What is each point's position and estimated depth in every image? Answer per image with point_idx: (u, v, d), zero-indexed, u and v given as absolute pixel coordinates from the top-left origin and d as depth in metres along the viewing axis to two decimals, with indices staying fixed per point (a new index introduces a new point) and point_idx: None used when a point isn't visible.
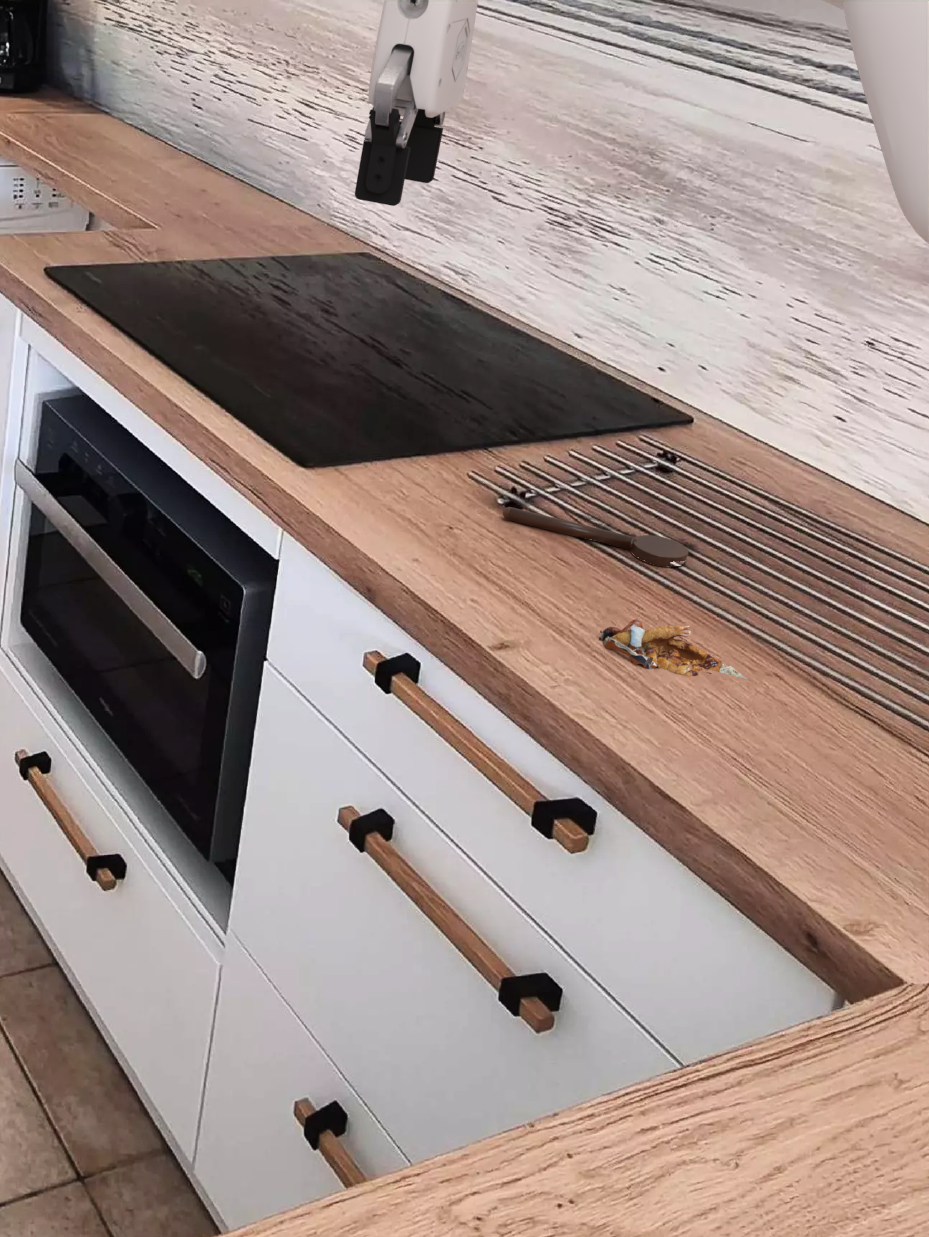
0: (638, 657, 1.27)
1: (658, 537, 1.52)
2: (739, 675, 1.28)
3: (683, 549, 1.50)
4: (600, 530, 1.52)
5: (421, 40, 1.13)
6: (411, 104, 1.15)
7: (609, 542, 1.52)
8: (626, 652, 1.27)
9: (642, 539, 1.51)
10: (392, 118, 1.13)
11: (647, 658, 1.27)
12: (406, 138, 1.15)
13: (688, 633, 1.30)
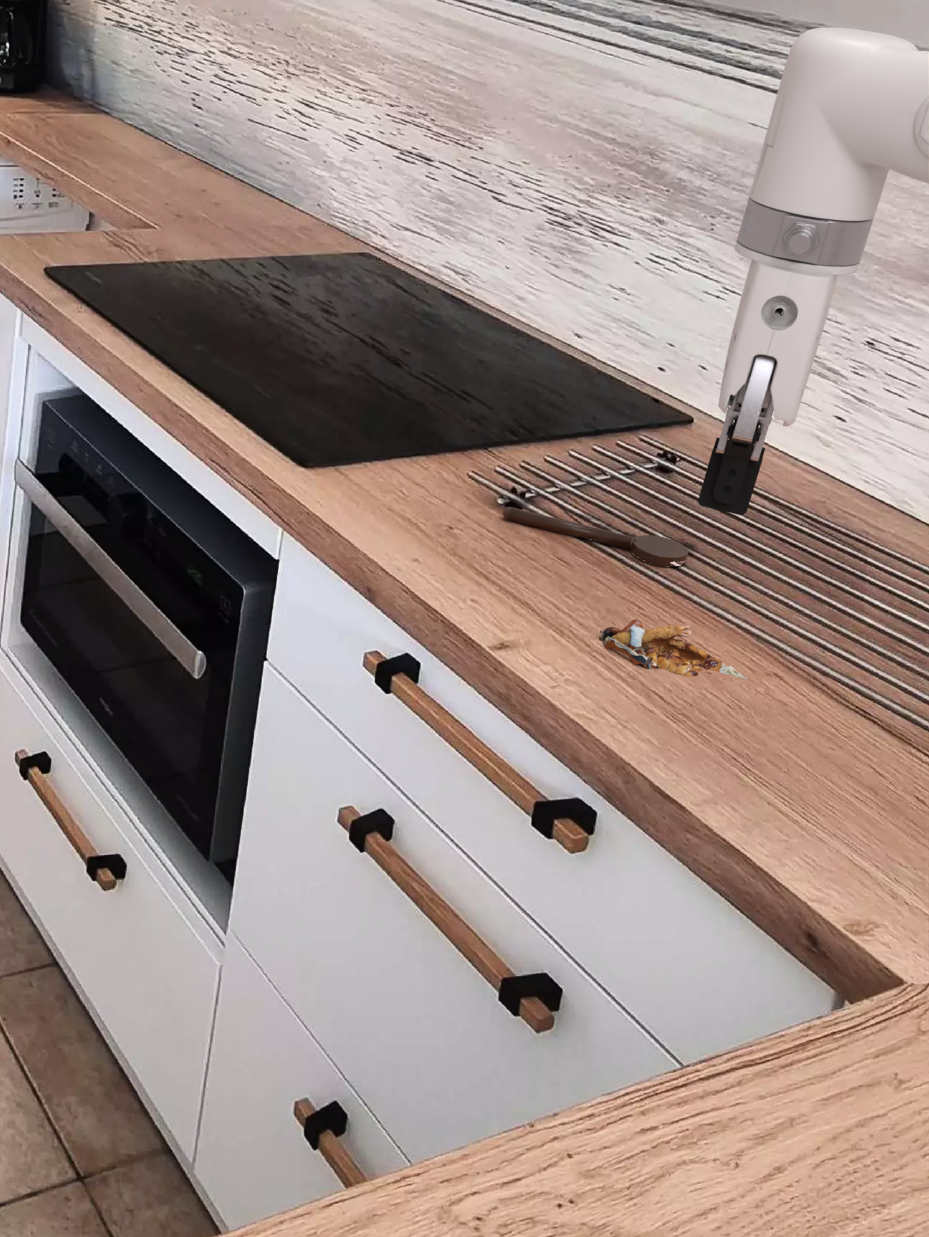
0: (638, 657, 1.27)
1: (658, 537, 1.52)
2: (739, 675, 1.28)
3: (683, 549, 1.50)
4: (600, 530, 1.52)
5: (786, 352, 1.06)
6: (765, 422, 1.10)
7: (609, 542, 1.52)
8: (626, 652, 1.27)
9: (642, 539, 1.51)
10: (752, 443, 1.10)
11: (647, 658, 1.27)
12: None
13: (688, 633, 1.30)
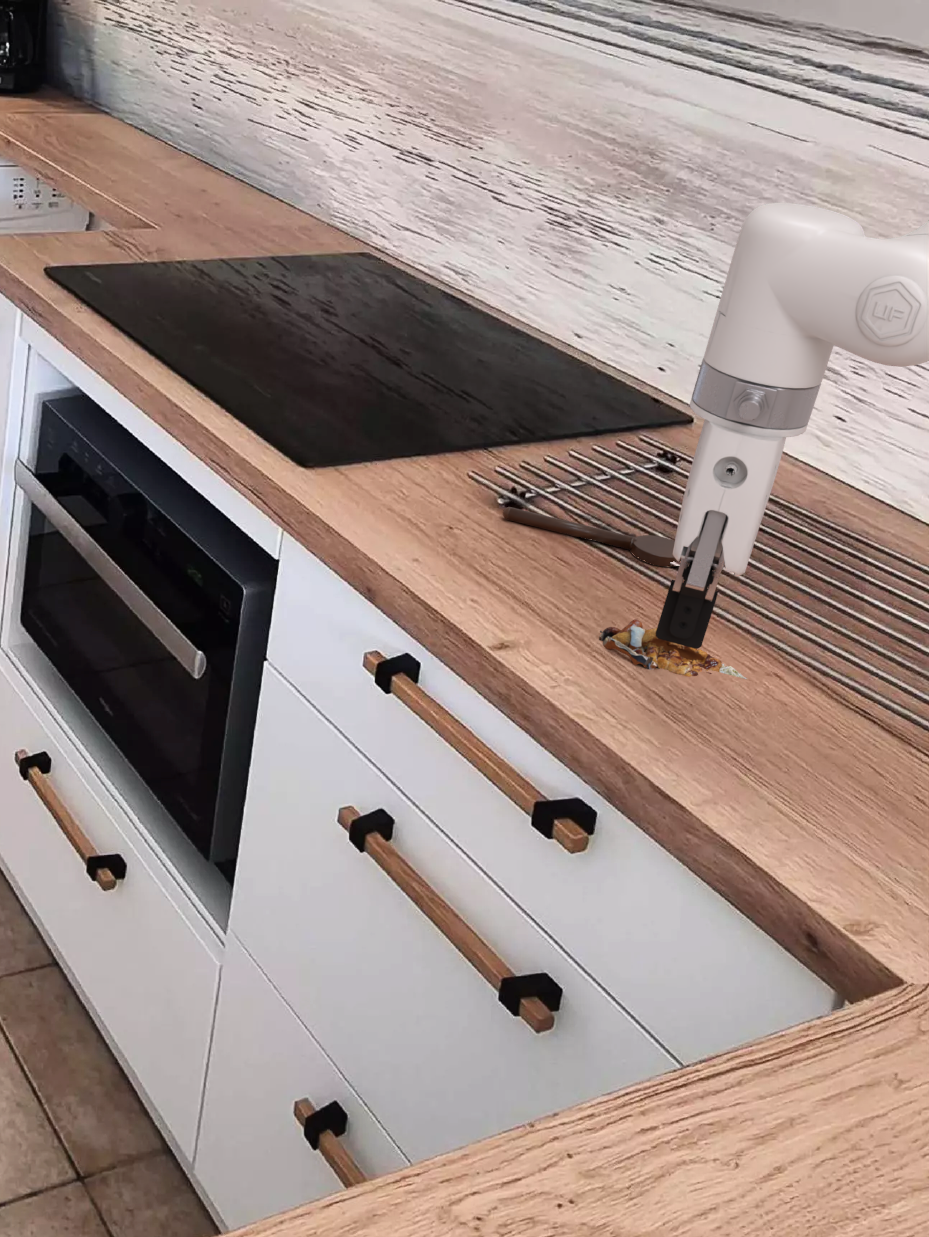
0: (638, 657, 1.27)
1: (658, 537, 1.52)
2: (739, 675, 1.28)
3: None
4: (600, 530, 1.52)
5: (737, 509, 1.11)
6: (718, 568, 1.15)
7: (609, 542, 1.52)
8: (626, 652, 1.27)
9: (642, 539, 1.51)
10: (706, 586, 1.15)
11: (647, 658, 1.27)
12: None
13: None
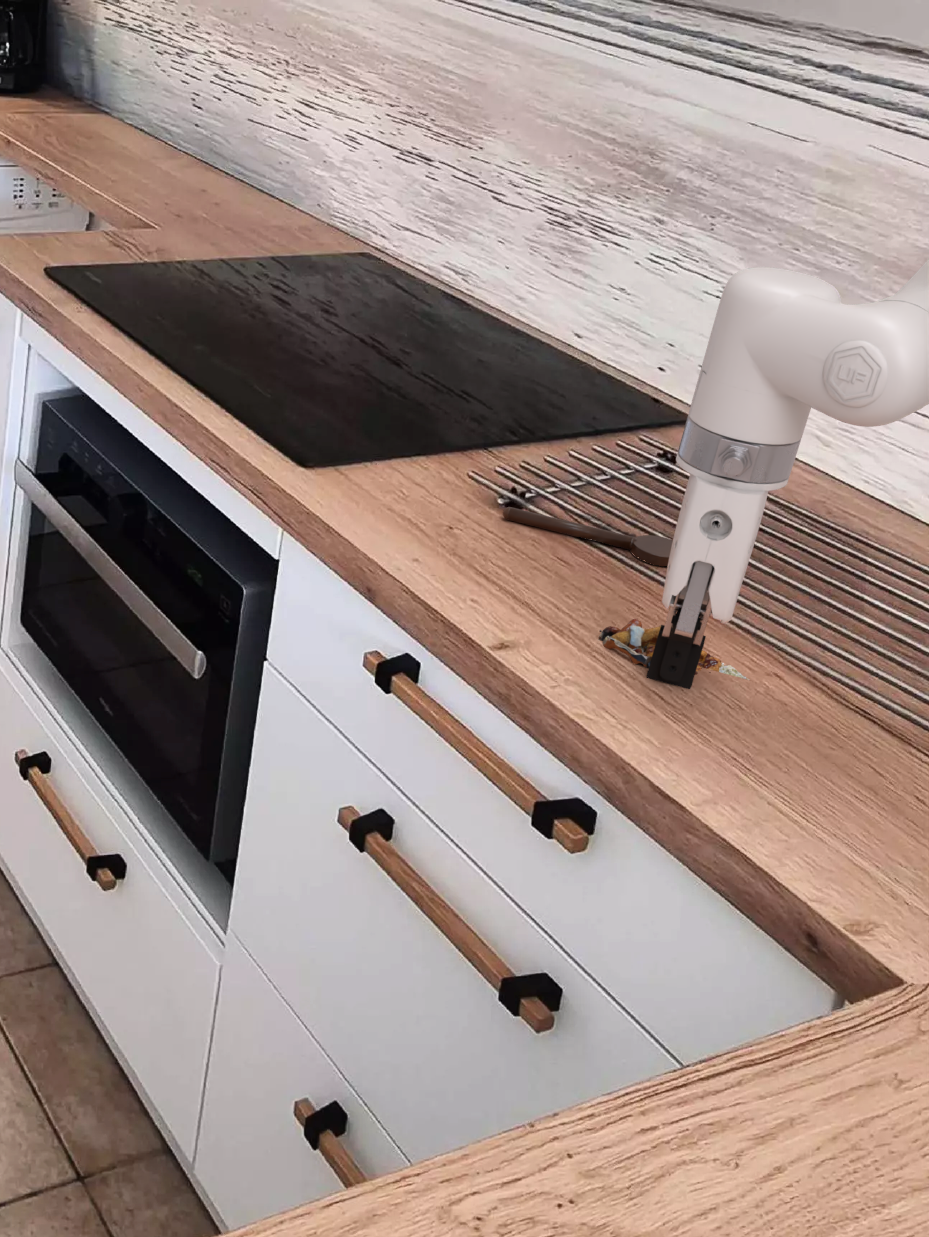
0: (638, 656, 1.27)
1: (658, 537, 1.52)
2: (738, 674, 1.28)
3: None
4: (600, 530, 1.52)
5: (723, 560, 1.15)
6: (705, 615, 1.20)
7: (609, 542, 1.52)
8: (625, 651, 1.28)
9: (642, 539, 1.51)
10: (694, 632, 1.20)
11: (647, 657, 1.27)
12: None
13: None
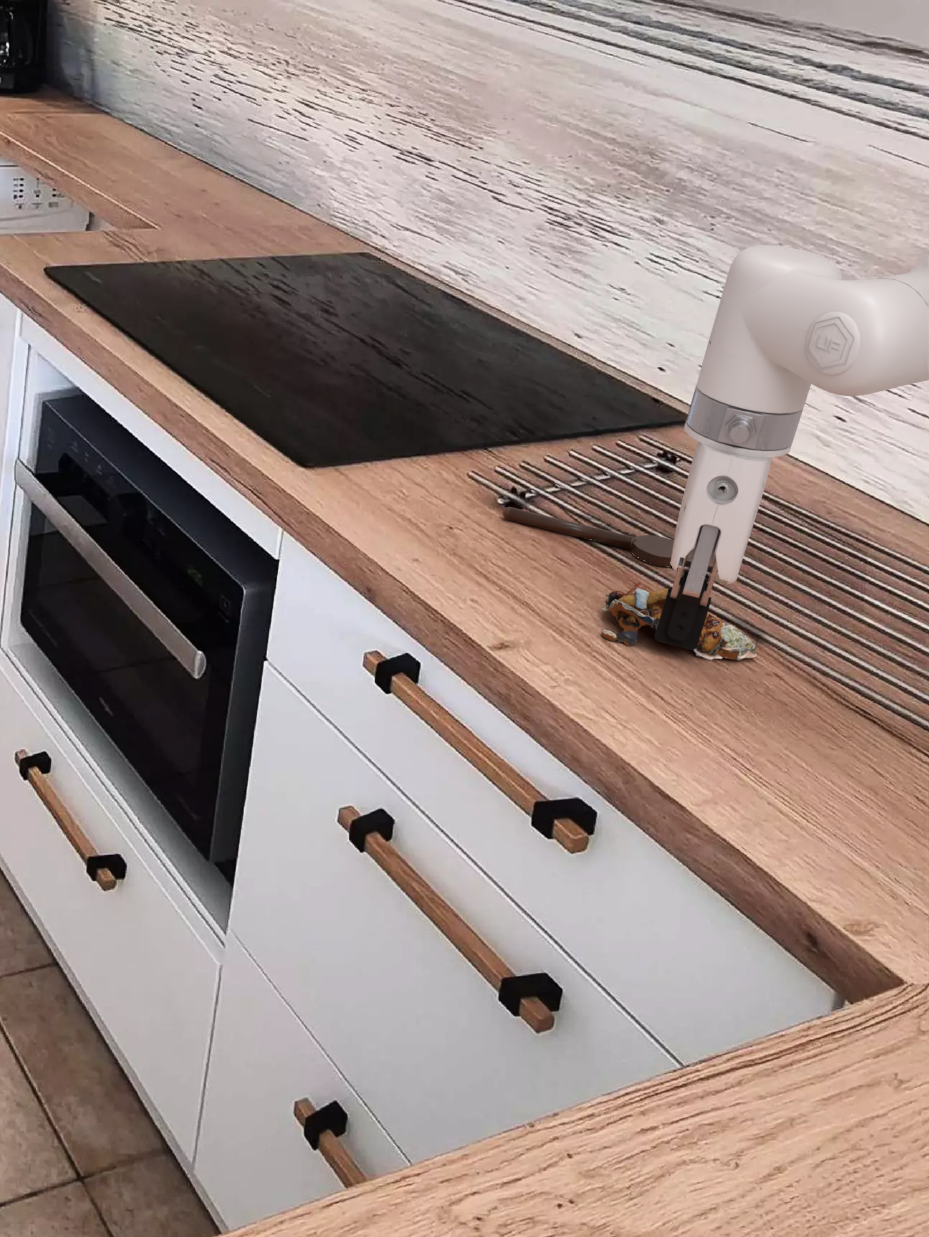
0: (645, 618, 1.33)
1: (658, 537, 1.52)
2: (739, 633, 1.35)
3: None
4: (600, 530, 1.52)
5: (728, 524, 1.22)
6: (711, 576, 1.27)
7: (609, 542, 1.52)
8: (633, 613, 1.34)
9: (642, 539, 1.51)
10: (701, 593, 1.26)
11: (654, 619, 1.33)
12: None
13: None
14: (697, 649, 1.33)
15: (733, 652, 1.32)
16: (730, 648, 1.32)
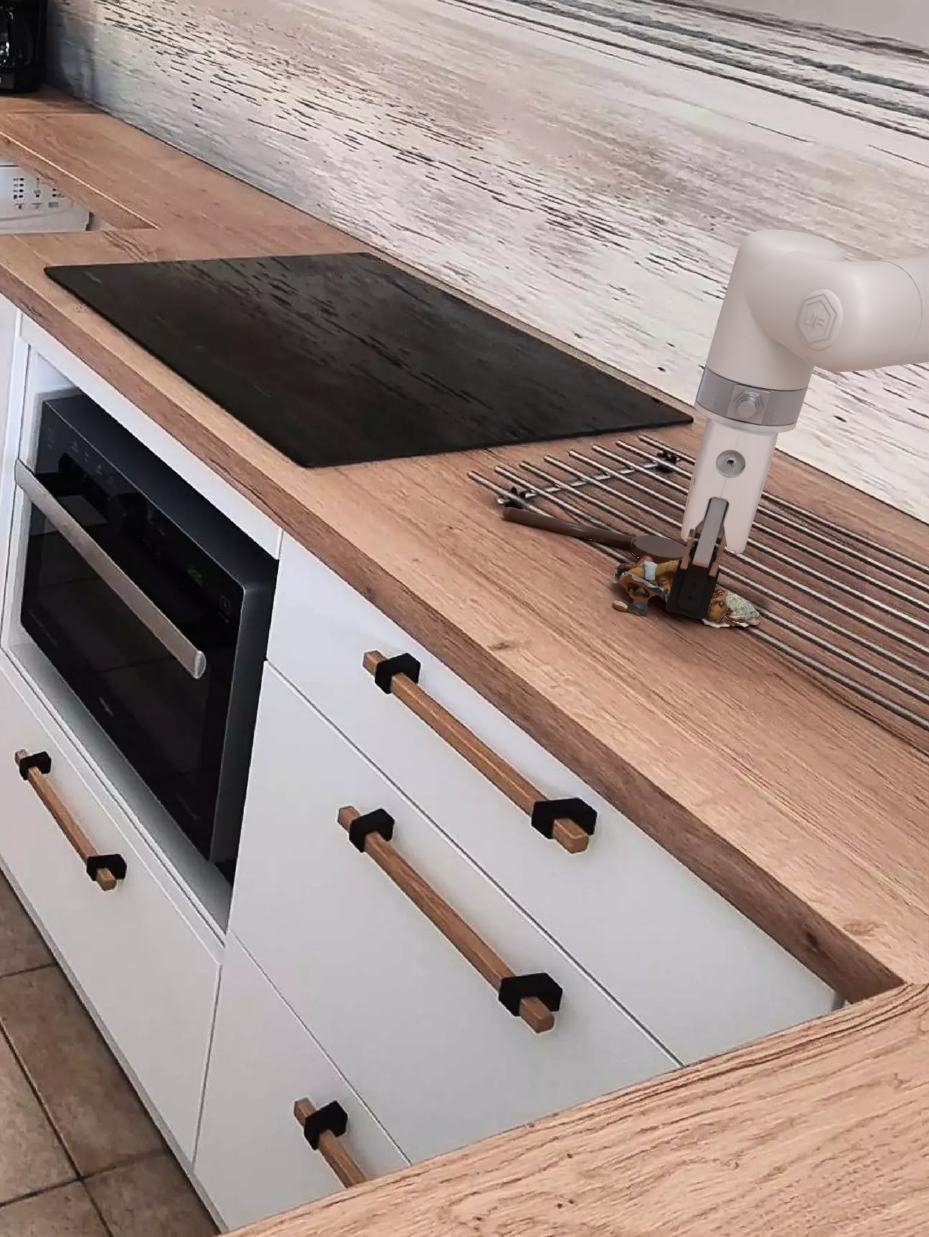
0: (655, 589, 1.38)
1: (658, 537, 1.52)
2: (743, 602, 1.40)
3: (683, 549, 1.50)
4: (600, 530, 1.52)
5: (736, 496, 1.27)
6: (720, 548, 1.32)
7: (609, 542, 1.52)
8: (643, 584, 1.39)
9: (642, 539, 1.51)
10: (710, 564, 1.32)
11: (663, 589, 1.38)
12: None
13: None
14: (705, 618, 1.39)
15: (739, 620, 1.38)
16: (736, 616, 1.38)
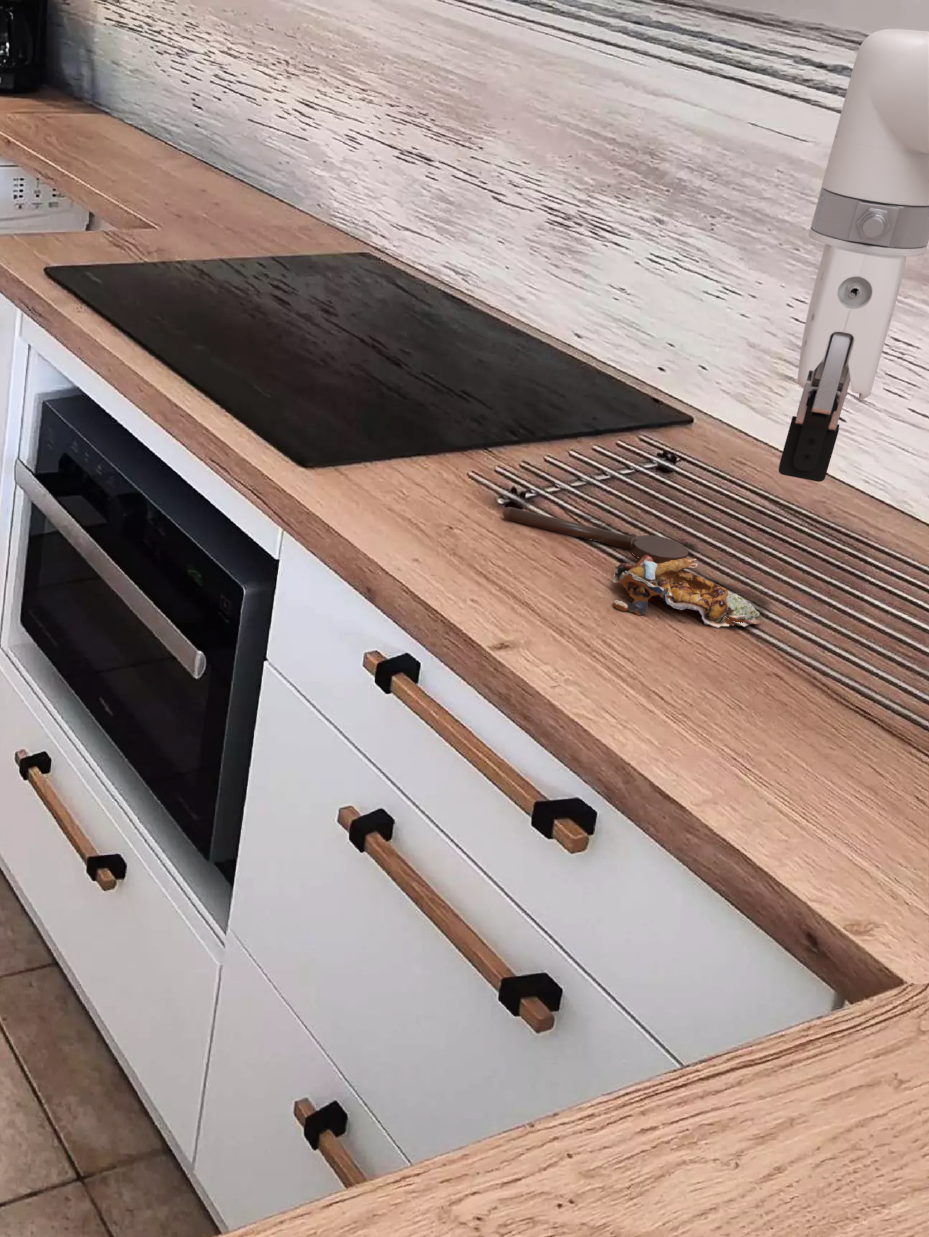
0: (655, 588, 1.38)
1: (658, 537, 1.52)
2: (743, 602, 1.40)
3: (683, 549, 1.50)
4: (600, 530, 1.52)
5: (862, 329, 1.14)
6: (841, 395, 1.18)
7: (609, 542, 1.52)
8: (643, 584, 1.39)
9: (642, 539, 1.51)
10: (830, 413, 1.18)
11: (663, 589, 1.38)
12: None
13: (695, 565, 1.42)
14: (705, 617, 1.39)
15: (739, 619, 1.38)
16: (736, 616, 1.38)
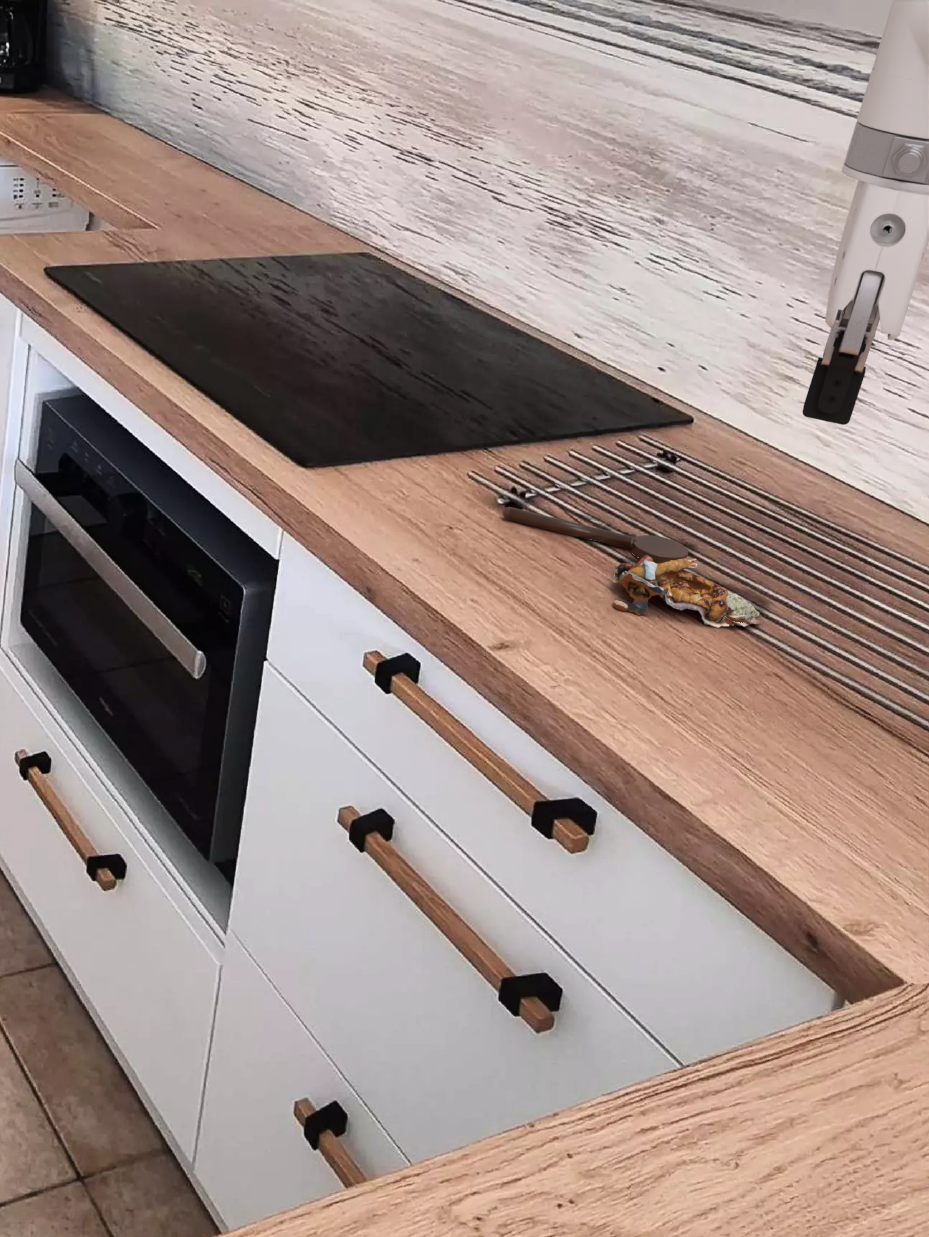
0: (655, 588, 1.38)
1: (658, 537, 1.52)
2: (743, 602, 1.40)
3: (683, 549, 1.50)
4: (600, 530, 1.52)
5: (894, 268, 1.12)
6: (869, 336, 1.16)
7: (609, 542, 1.52)
8: (643, 584, 1.39)
9: (642, 539, 1.51)
10: (858, 354, 1.16)
11: (663, 589, 1.38)
12: None
13: (695, 565, 1.42)
14: (705, 617, 1.39)
15: (739, 620, 1.38)
16: (736, 616, 1.38)
